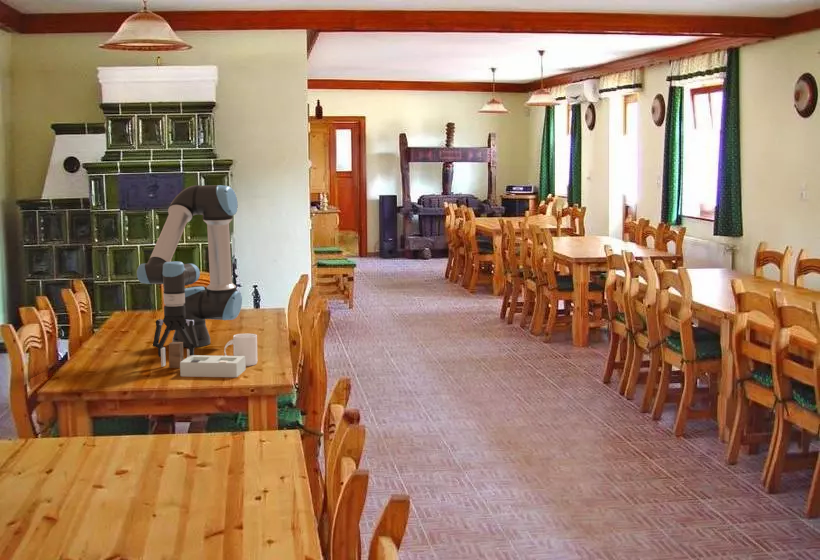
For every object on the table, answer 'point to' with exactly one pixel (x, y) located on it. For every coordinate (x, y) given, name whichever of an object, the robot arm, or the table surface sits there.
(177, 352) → the plug
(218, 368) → the socket board
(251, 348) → the mug
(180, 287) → the robot arm
